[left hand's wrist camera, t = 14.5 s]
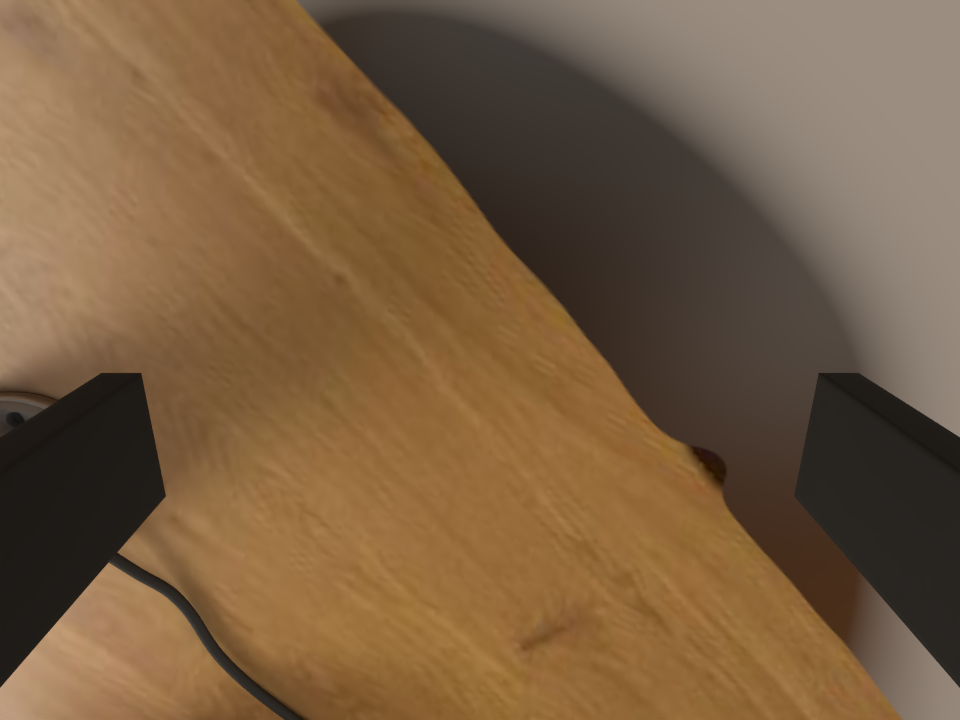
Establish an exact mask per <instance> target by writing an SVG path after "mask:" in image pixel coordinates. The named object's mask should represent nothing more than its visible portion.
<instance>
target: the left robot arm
mask: <svg viewBox="0 0 960 720" xmlns="http://www.w3.org/2000/svg"><path fill="white" fill-rule="evenodd" d="M165 496H166V495H165V490H164V485H163V480H162V475H161V470H160V465H159V460H158V455H157V450H156V445H155V440H154V435H153V430H152V425H151V420H150V415H149V410H148V405H147V400H146V395H145V390H144V385H143V380H142V375H141V373H101V374H99V375H98V376H96V377H95V378H93V379H91V380H90V381H88V382H87V383H85V384H84V385H82V386H80V387H79V388H77V389H76V390H74V391H73V392H71V393H69V394H68V395H66V396H65V397H63V398H61V399H60V400H58V401H57V400H54V399H51V398H48V397H44V396H40V395H36V394H30V393H21V392H5V393H0V687H1V686H2V685H3V684H4V683H5V681H6V680H7V679H8V678H9V677H10V676H11V675H12V673H13V672H14V671H15V670H16V669H17V668H18V666H19V665H20V664H21V663H22V662H23V661H24V659H25V658H26V657H27V656H28V655H29V654H30V653H31V651H32V650H33V649H34V648H35V647H36V646H37V644H38V643H39V642H40V641H41V640H42V639H43V638H44V636H45V635H46V634H47V633H48V632H49V631H50V629H51V628H52V627H53V626H54V625H55V624H56V622H57V621H58V620H59V619H60V618H61V617H62V616H63V614H64V613H65V612H66V611H67V610H68V609H69V607H70V606H71V605H72V604H73V603H74V602H75V601H76V599H77V598H78V597H79V596H80V595H81V594H82V592H83V591H84V590H85V589H86V588H87V587H88V585H89V584H90V583H91V582H92V581H93V580H94V579H95V577H96V576H97V575H98V574H99V573H100V572H101V570H102V569H103V568H104V567H105V566H106V565H107V564H108V562H109V563H111V564H112V565H114V566H115V567H117V568H119V569H120V570H122V571H123V572H125V573H126V574H128V575H130V576H131V577H133V578H135V579H136V580H138V581H140V582H142V583H143V584H145V585H147V586H149V587H151V588H153V589H155V590H157V591H158V592H160V593H162V594H163V595H164V596H166V597H167V598H168V599H169V600H171V601H172V602H173V603H174V604H175V605H176V606H177V607H178V608H179V609H180V611H181V612H182V613H183V614H184V615H185V617H186V618H187V619H188V621H189V622H190V624H191V625H192V627H193V628H194V630H195V632H196V633H197V635H198V637H199V638H200V640H201V641H202V643H203V644H204V646H205V647H206V649H207V650H208V651H209V653H210V654H211V655H212V657H213V658H214V659H215V660H216V661H217V663H218V664H219V665H220V666H221V667H222V668H223V669H224V670H225V671H226V672H227V673H228V674H229V675H230V676H231V677H232V678H233V679H234V680H235V681H237V682H238V683H239V684H240V685H241V686H242V687H243V688H244V689H246V690H247V691H248V692H249V693H250V694H252V695H253V696H254V697H255V698H257V699H258V700H259V701H261V702H262V703H263V704H265V705H266V706H267V707H268V708H270V709H271V710H272V711H274V712H275V713H276V714H278V715H279V716H280V717H282V718H283V719H284V720H303V719H302V718H300V717H299V716H298V715H296V714H295V713H294V712H292V711H291V710H290V709H288V708H287V707H286V706H285V705H283V704H282V703H281V702H279V701H278V700H277V699H275V698H274V697H273V696H272V695H270V694H269V693H268V692H266V691H265V690H264V689H263V688H261V687H260V686H259V685H258V684H256V683H255V682H254V681H253V680H252V679H250V678H249V677H248V676H247V675H246V674H245V673H244V672H243V671H242V670H241V669H239V668H238V667H237V666H236V665H235V664H234V663H233V662H232V661H231V660H230V659H229V657H228V656H227V655H226V654H225V653H224V652H223V651H222V650H221V648H220V647H219V646H218V644H217V643H216V642H215V640H214V639H213V637H212V635H211V634H210V632H209V631H208V629H207V627H206V626H205V624H204V622H203V621H202V619H201V618H200V616H199V615H198V613H197V612H196V610H195V609H194V608H193V607H192V605H191V604H190V603H189V602H188V601H187V600H186V598H185V597H184V596H183V595H182V594H181V593H180V592H179V591H177V590H176V589H175V588H174V587H173V586H171V585H170V584H168V583H167V582H165V581H163V580H162V579H160V578H158V577H156V576H154V575H152V574H151V573H149V572H147V571H145V570H143V569H142V568H140V567H139V566H137V565H135V564H134V563H132V562H131V561H129V560H128V559H126V558H125V557H123V556H121V555H120V554H118V553H117V552H118V551H119V550H120V548H121V547H122V546H123V545H124V544H125V543H126V542H127V540H128V539H129V538H130V537H131V536H132V535H133V533H134V532H135V531H136V530H137V529H138V528H139V527H140V525H141V524H142V523H143V522H144V521H145V520H146V518H147V517H148V516H149V515H150V514H151V513H152V511H153V510H154V509H155V508H156V507H157V506H158V505H159V503H160V502H161V501H162V500H163V499H164V498H165ZM794 496H795V498H796V499H797V500H798V501H799V502H800V503H801V504H802V506H803V507H804V508H805V509H806V510H807V511H808V513H809V514H810V515H811V516H812V517H813V518H814V519H815V521H816V522H817V523H818V524H819V525H820V527H821V528H822V529H823V530H824V531H825V532H826V533H827V534H828V536H829V537H830V538H831V539H832V540H833V542H834V543H835V544H836V545H837V546H838V547H839V548H840V550H841V551H842V552H843V553H844V554H845V555H846V557H847V558H848V559H849V560H850V561H851V562H852V563H853V565H854V566H855V567H856V568H857V569H858V570H859V572H860V573H861V574H862V575H863V576H864V577H865V579H866V580H867V581H868V582H869V583H870V584H871V585H872V587H873V588H874V589H875V590H876V591H877V592H878V593H879V595H880V596H881V597H882V598H883V599H884V601H885V602H886V603H887V604H888V605H889V606H890V607H891V609H892V610H893V611H894V612H895V613H896V614H897V615H898V617H899V618H900V619H901V620H902V621H903V622H904V624H905V625H906V626H907V627H908V628H909V629H910V631H911V632H912V633H913V634H914V635H915V636H916V637H917V639H918V640H919V641H920V642H921V643H922V644H923V646H924V647H925V648H926V649H927V650H928V651H929V652H930V654H931V655H932V656H933V657H934V658H935V659H936V661H937V662H938V663H939V664H940V665H941V666H942V668H943V669H944V670H945V671H946V672H947V673H948V674H949V676H950V677H951V678H952V679H953V680H954V681H955V683H956V684H957V685H958V686H959V687H960V437H958V436H957V435H955V434H954V433H952V432H950V431H949V430H947V429H946V428H944V427H943V426H941V425H939V424H938V423H936V422H935V421H933V420H932V419H930V418H928V417H927V416H925V415H924V414H922V413H921V412H919V411H917V410H916V409H914V408H913V407H911V406H909V405H908V404H906V403H905V402H903V401H902V400H900V399H898V398H897V397H895V396H894V395H892V394H891V393H889V392H887V391H886V390H884V389H883V388H881V387H880V386H878V385H876V384H875V383H873V382H872V381H870V380H869V379H867V378H865V377H864V376H862V375H861V374H859V373H819V375H818V380H817V385H816V390H815V395H814V400H813V405H812V410H811V415H810V420H809V425H808V430H807V435H806V440H805V445H804V450H803V455H802V460H801V465H800V470H799V475H798V480H797V485H796V490H795V495H794Z"/></svg>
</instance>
